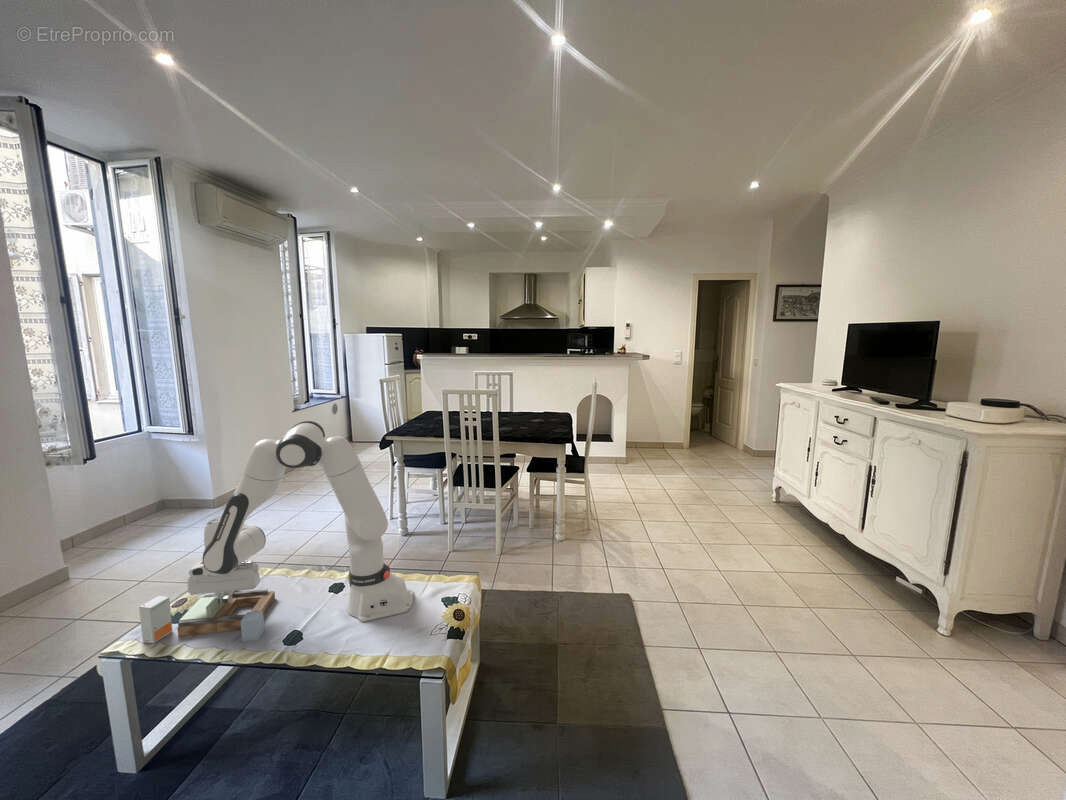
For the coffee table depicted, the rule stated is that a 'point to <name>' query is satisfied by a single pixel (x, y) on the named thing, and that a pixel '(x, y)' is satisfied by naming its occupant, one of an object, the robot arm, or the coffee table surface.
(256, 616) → the block
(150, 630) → the skincare box
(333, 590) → the coffee table surface
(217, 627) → the wooden box frame
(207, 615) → the lid
